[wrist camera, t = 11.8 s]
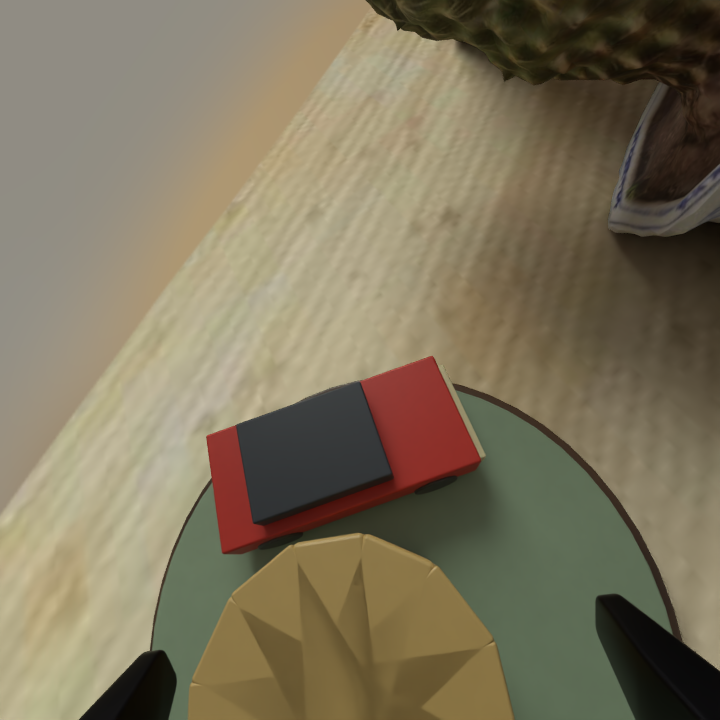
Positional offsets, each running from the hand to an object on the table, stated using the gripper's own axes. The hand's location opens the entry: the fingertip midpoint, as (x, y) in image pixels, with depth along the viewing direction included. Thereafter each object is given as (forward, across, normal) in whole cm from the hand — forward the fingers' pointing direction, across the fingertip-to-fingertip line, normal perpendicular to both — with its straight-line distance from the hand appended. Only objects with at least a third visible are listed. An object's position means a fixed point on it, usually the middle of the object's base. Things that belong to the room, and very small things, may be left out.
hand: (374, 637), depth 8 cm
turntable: (+4, 0, +5) cm, 6 cm away
